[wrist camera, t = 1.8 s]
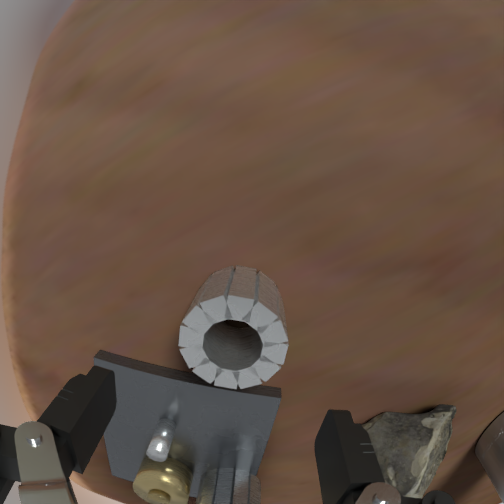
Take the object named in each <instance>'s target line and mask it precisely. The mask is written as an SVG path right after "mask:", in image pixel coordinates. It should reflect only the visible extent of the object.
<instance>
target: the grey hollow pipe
mask: <svg viewBox="0 0 504 504" xmlns="http://www.w3.org/2000/svg"><path fill="white" fill-rule="evenodd" d="M196 504H261V484H260V480H259V478H257V477H256V476H255V475H253V474H252V473H249V472H248V471H244V470H240V469H237V468H236V469H235V470H234V468H219V469H218V468H216V469H212V470H209V471H206V472H205V473H204V474H203V476H202V477H201V479H200V484H199V489H198V494H197V499H196Z"/></svg>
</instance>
